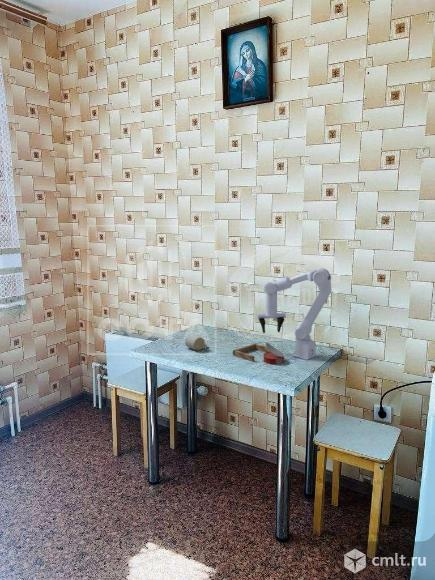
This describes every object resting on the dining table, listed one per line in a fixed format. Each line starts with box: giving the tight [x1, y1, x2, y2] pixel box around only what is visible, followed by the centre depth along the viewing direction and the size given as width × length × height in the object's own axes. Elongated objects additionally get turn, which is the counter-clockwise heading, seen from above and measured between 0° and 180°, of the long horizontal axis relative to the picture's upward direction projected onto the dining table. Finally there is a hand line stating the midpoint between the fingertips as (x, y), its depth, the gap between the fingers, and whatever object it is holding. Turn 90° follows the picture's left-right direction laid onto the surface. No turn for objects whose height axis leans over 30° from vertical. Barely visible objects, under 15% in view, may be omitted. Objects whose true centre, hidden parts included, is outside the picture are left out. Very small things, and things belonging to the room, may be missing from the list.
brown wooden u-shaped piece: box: [232, 343, 270, 362], centre depth 218 cm, size 13×16×2 cm
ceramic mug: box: [184, 332, 208, 351], centre depth 228 cm, size 11×8×8 cm
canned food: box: [263, 342, 285, 365], centre depth 208 cm, size 11×10×10 cm
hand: (271, 332), depth 221 cm, fingers open, 7 cm apart
